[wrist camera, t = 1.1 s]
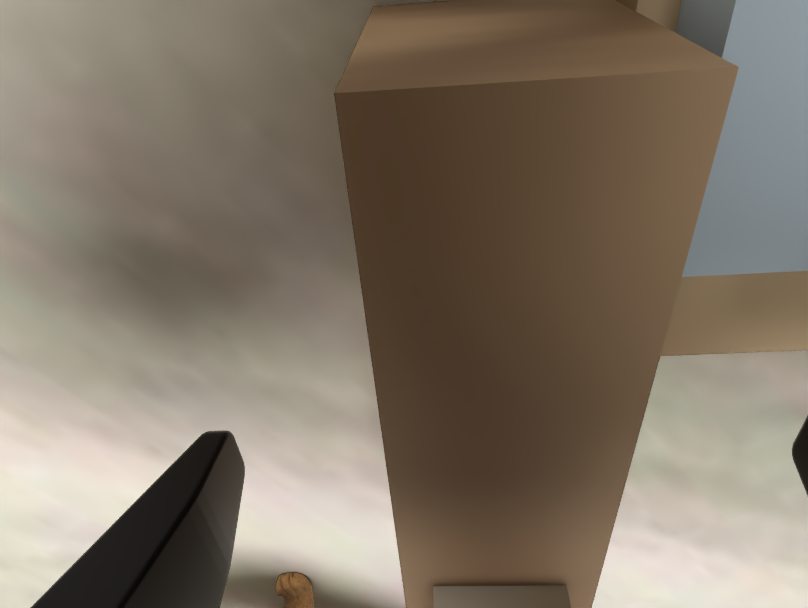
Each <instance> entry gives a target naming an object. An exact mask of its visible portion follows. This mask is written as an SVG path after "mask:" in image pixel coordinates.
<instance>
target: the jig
mask: <svg viewBox="0 0 808 608" xmlns="http://www.w3.org/2000/svg"><path fill="white" fill-rule="evenodd" d="M616 1H617V2H619V3H621V4H623V5H625V6H627V7H629V8H630V9H632V10H634V11H636V12H638V13H640V14H641V15H643V16H645V17H647V18H649V19H651V20H653V21H654V22H656V23H658V24H660V25H662V26H664V27H666V28H667V29H669V30H671V31H673V32H676V27H677V22H678V17H679V12H680V7H681V2H682V0H616ZM796 350H808V271H791V272H771V273H751V274H731V275H710V276H690V277H682V278H681V282H680V285H679V289H678V293H677V296H676V300H675V304H674V307H673V311H672V314H671V318H670V322H669V325H668V329H667V333H666V336H665V340H664V344H663V347H662V351H661V355H660V356H674V355H698V354H723V353H747V352H772V351H796Z"/></svg>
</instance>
